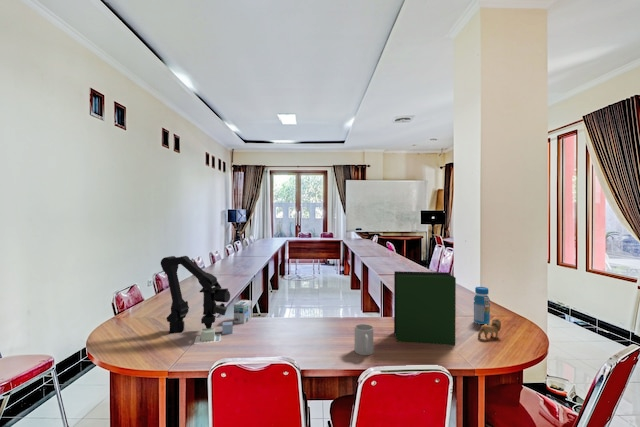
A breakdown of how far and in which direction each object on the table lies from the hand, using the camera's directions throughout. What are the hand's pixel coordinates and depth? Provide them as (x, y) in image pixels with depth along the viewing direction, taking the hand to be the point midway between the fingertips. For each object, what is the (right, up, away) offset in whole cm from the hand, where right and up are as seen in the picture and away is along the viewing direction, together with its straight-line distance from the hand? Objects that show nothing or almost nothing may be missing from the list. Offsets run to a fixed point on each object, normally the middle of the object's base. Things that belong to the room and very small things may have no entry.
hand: (209, 331), depth 172 cm
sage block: (+1, -1, -6) cm, 6 cm away
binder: (+108, -2, -4) cm, 108 cm away
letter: (+1, -2, -6) cm, 6 cm away
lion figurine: (+142, -2, -3) cm, 142 cm away
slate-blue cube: (+9, -2, +3) cm, 9 cm away
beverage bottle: (+149, -2, +20) cm, 150 cm away
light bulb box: (+12, -2, +22) cm, 25 cm away
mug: (+76, -2, -22) cm, 79 cm away
